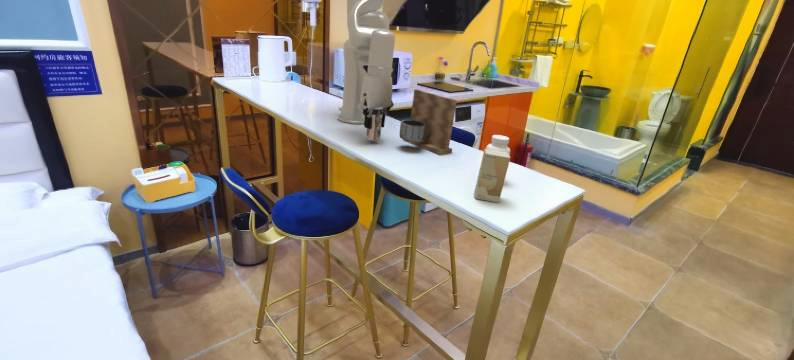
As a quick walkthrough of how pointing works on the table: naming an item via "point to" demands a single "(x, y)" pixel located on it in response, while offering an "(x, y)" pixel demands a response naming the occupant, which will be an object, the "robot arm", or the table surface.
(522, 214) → the table surface
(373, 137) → the beer can
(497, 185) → the skincare box
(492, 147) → the supplement bottle
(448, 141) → the cup bracket
